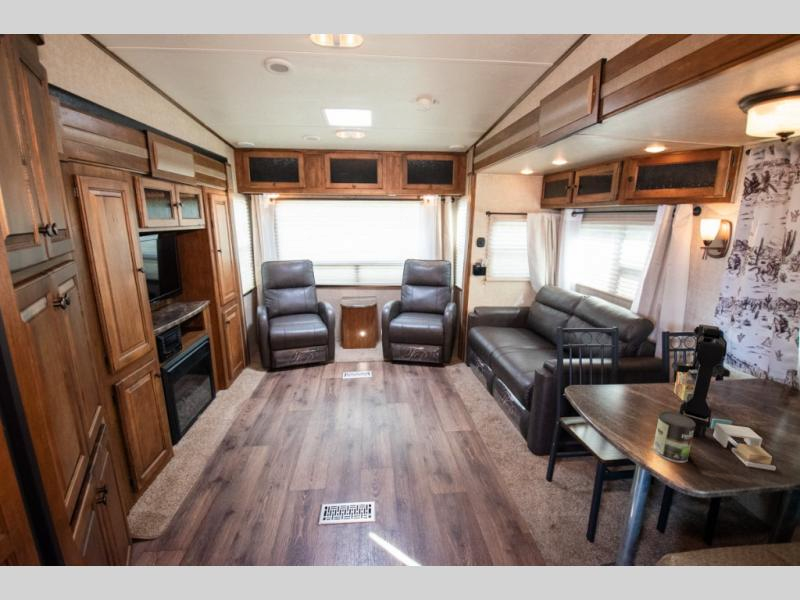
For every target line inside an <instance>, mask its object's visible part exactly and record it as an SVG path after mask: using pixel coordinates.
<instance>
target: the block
mask: <svg viewBox="0 0 800 600" xmlns="http://www.w3.org/2000/svg"><path fill="white" fill-rule="evenodd" d="M736 453H737V454H738V455H739V456H740V457H741V458H742V459H743V460H744V461H745V462H746V461H747V462H753V463H760V464H766V465H772V464H771V463H772V460H773V456H772V455H770V453H768V452H767V451H766V450H765V449H764V448H763V447H761V446H754V445H748V444H747V443H738V448H737V452H736Z"/></svg>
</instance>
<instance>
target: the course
mask: <svg viewBox="0 0 800 600" xmlns="http://www.w3.org/2000/svg"><path fill="white" fill-rule="evenodd" d="M713 431H714V432H713V434H712V437H713V438H715V439H716V441H717V442H719V444H721V446H722V447H723V448H727V446H728V442H729V440H728V438H729V436H730V437H737V438H742V439H743V441H744V443H745V444H747V445H754V446H760V447H761V445H762V442H763V438H762V437H761V436H759V434H757V433H756V432H755V431H754V430H753V429H752V428H750V427H747V426H746V427H745V426H741V425H733V424H732V425H726V424H718V423H716V425H715V429H713Z"/></svg>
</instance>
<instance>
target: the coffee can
mask: <svg viewBox="0 0 800 600" xmlns="http://www.w3.org/2000/svg"><path fill="white" fill-rule="evenodd" d="M684 415H685V414H683V415H681V414H679V413H678V412H674V411H665V410H664V411H659V413H658V420H657V425H656V430H655V434H654V440H653V441H654V442H653V446H652V450H653V452H654V453H655V454H657V455H658V456H659V457H660V458H662V459H665V460H667V461H670V462H672V463H679V464H681V463H682V464H683V463H684V464H685V463H686V462H687V463H688V460H689V454H690V449H691V446H692V441H693V438H694V437H693V433H694V428H695V425H696V424H695V422H694V421H693V420H692V419H690V418H688V417H686V416H684Z"/></svg>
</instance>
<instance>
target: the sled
mask: <svg viewBox="0 0 800 600" xmlns="http://www.w3.org/2000/svg"><path fill="white" fill-rule="evenodd" d="M716 423H718V424H726V425H733V421H732V420H730V419H723V418H722V419H721V418H712V417H711V421H710V426H709V427H710V429H711V430H715V425H716ZM728 442H730V444H732V445H733V446H734V447H731V452H732V453H733V454H734V455H735V456H736V457H737V458H738V460H740V461H741V462H742V463H743V464H744V465H745V466H746V467H750V468H756V469H762V470H763V469H764V470H769V471H776V470H777V467H776V466H775V465H773V464H770V465H766V464H760V463H753V462H747V461H746V462H745V461H744V460H743V459H742V458H741V457H740V456H739V455H738V454H737V453H736V452H737V448H738V444H739V443H738V442H737V441H735V440H734V439H733V438H732V436H729V438H728Z"/></svg>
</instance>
